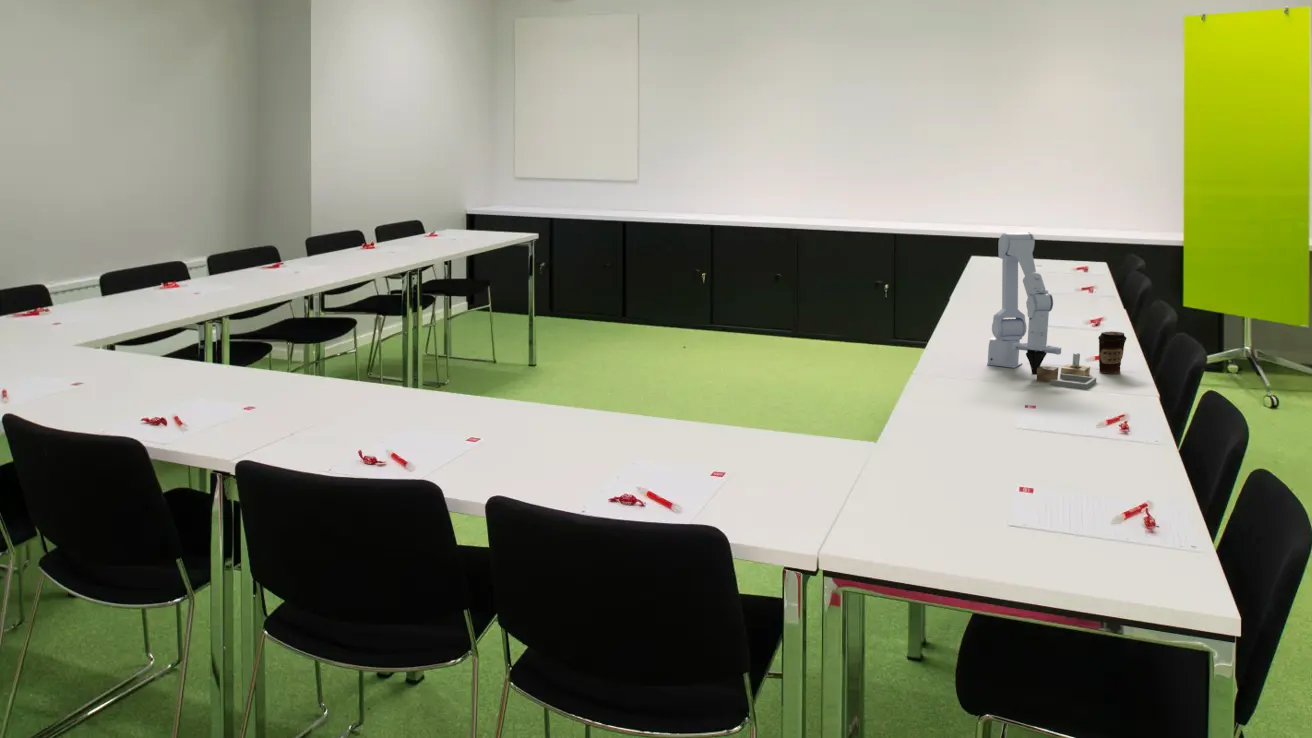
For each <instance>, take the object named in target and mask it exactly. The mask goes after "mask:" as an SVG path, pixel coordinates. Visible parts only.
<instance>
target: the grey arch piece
mask: <svg viewBox="0 0 1312 738" xmlns="http://www.w3.org/2000/svg"><path fill="white" fill-rule="evenodd" d="M1059 379H1062V380H1059ZM1059 379H1058V380H1053V379H1051V381H1050V382H1049V385H1051V386H1057V387H1058V386H1061V387H1066V388H1074V389H1075V388H1076V389H1081V388H1082V390H1088V389H1089V388H1090V387H1092V386H1093V385H1095V384H1096V383H1097V379H1098V378H1097V377H1093V376H1078V375H1070V374H1061V373H1060V374H1059ZM1066 380H1068V381H1066ZM1075 381H1076V382H1075ZM1084 381H1085V382H1084ZM1083 382H1084V383H1083Z"/></svg>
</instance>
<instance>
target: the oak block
mask: <svg viewBox="0 0 1312 738" xmlns="http://www.w3.org/2000/svg"><path fill="white" fill-rule="evenodd" d="M1072 364H1073V363H1072ZM1072 364H1071V363H1067V364H1065V365H1063V366H1061V368H1060V374H1070V375H1078V376H1086V377H1089V374H1091V372H1090V371H1091V366H1088V365H1081V364H1079V369H1077V368H1072Z"/></svg>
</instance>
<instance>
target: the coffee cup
mask: <svg viewBox="0 0 1312 738" xmlns="http://www.w3.org/2000/svg"><path fill="white" fill-rule="evenodd" d="M1097 339H1098V367H1099V369H1098V370H1099V373H1102V374H1109V375H1110V374H1111V375H1113V374H1114V375H1115V374H1116V375H1117V374H1121V365H1122V359H1123V357H1124V350H1125V344H1126V341H1127V337H1126V336H1125V333H1124V332H1122V331H1121V332H1119V331H1105V332H1101V333H1100V335H1099V336H1098V338H1097Z"/></svg>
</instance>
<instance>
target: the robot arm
mask: <svg viewBox="0 0 1312 738" xmlns="http://www.w3.org/2000/svg"><path fill="white" fill-rule="evenodd" d="M1035 239H1036V238H1035V237H1034V235H1033V233H1032V232H1017V233H1016V232H1015V233H1013V232H1012V233H1010V232H1009V233H1007V232H1003V233H1002V234H1001V236H1000V237H999V239H998V243H997V244H998V246H997V247H998V252H997V253H998V258H1000V259H1001V261H1002V262H1001V263H1002V265H1001V266H1002V275H1001V276H1002V277H1001V281H1002V282H1001V285H1002V286H1001V287H1002V289H1001V290H1002V291H1001V303H1002V304H1001V309H1000V310H999V311H997V312H996V313H995V314H994V315H993V317H992V319H993V320H992V324H991V332H992V335H993V336H994V337H991V338H990V340H989V343H988V350H987V352H988V353H987V363H986V365H988V366H995V367H996V366H998V367H1005V368H1012V369H1014V368H1017V367H1020V366H1021V365H1022V364H1023V362H1021V361H1019V356H1020V351H1026V353H1025V356H1026V358H1027V361H1028V364H1029V365H1030V369H1031V370H1030V371H1031V375H1033V376H1037V368H1039V367H1040V366H1042V363H1043V361H1044V359H1045V357H1046V356H1047V354H1054V355H1058V356H1059V355H1061V354H1062V347H1058V346H1054V345H1048V342H1047V341H1048V332H1049V331H1048V330H1049V329H1048V328H1049V315H1050V312H1051V311H1052V309H1053V307H1054V300H1053V299H1054V298H1053V295H1052V294H1051V292H1049V290H1046V286H1045V283H1044V280H1043V278H1042V275H1041V274H1040V273H1038V272H1037V270H1036V265H1035V259H1034V255H1033V252H1034V250H1035V245H1036V244H1035V242H1036V241H1035ZM1019 265H1020V267H1021V271H1022V273H1023V275H1024V277H1023V279H1022V283H1023V287H1024V290H1025V293H1026V296H1027V299H1026V303H1025V304H1026V308H1027V312H1026V313H1027V317H1028V328H1027V323H1026V315H1025V314H1024V313H1023V312H1022V311H1021V310H1019ZM1027 329H1028V330H1027ZM1026 334H1027V343H1024V342H1021V340H1023V337H1024V336H1025V335H1026Z"/></svg>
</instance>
